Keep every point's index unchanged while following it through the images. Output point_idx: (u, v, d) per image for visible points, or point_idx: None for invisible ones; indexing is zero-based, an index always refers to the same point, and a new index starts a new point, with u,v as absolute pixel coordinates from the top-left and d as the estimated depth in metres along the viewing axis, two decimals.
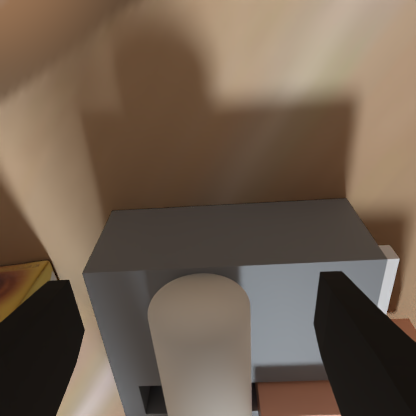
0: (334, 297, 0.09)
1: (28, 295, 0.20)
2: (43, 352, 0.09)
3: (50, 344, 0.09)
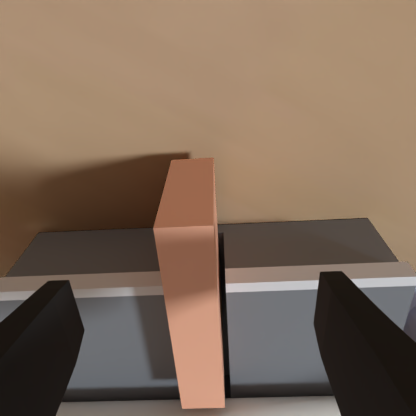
0: (334, 297, 0.09)
1: None
2: (43, 352, 0.09)
3: (50, 344, 0.09)
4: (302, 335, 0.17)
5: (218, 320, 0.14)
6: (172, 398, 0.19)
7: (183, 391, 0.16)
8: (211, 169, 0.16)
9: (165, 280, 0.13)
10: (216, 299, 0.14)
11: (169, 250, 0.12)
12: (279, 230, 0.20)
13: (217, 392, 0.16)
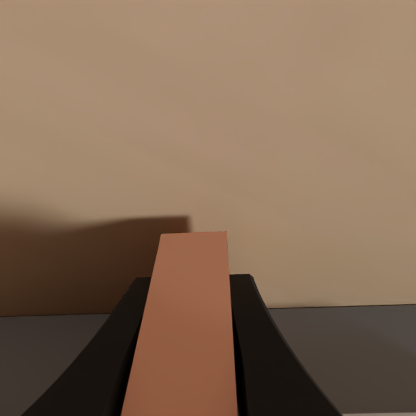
0: None
1: None
2: None
3: None
4: None
5: None
6: None
7: None
8: (224, 258, 0.10)
9: None
10: None
11: None
12: (319, 324, 0.13)
13: None
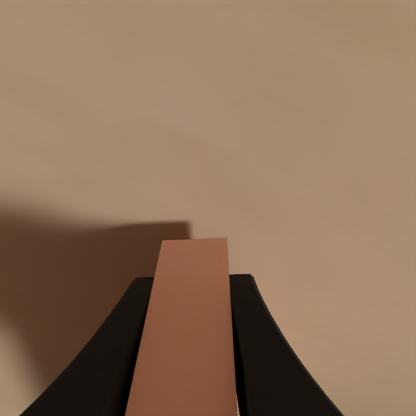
0: None
1: None
2: None
3: None
4: None
5: None
6: None
7: None
8: (225, 265, 0.10)
9: None
10: None
11: None
12: None
13: None
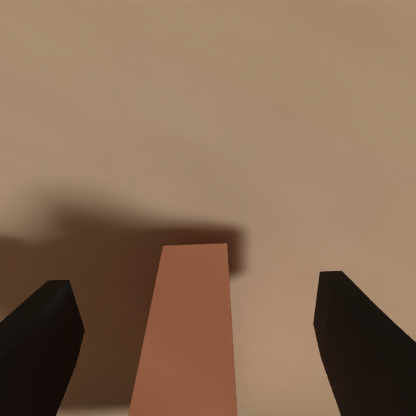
0: (334, 297, 0.09)
1: None
2: (43, 352, 0.09)
3: (50, 344, 0.09)
4: None
5: None
6: None
7: None
8: (225, 270, 0.10)
9: None
10: None
11: None
12: None
13: None
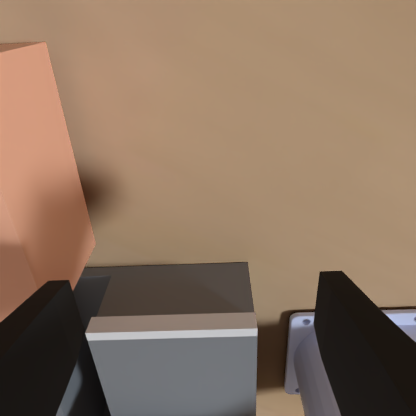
0: (334, 297, 0.09)
1: None
2: (43, 352, 0.09)
3: (50, 344, 0.09)
4: (166, 376, 0.18)
5: (6, 208, 0.12)
6: None
7: None
8: (28, 45, 0.14)
9: None
10: None
11: None
12: (162, 274, 0.21)
13: None
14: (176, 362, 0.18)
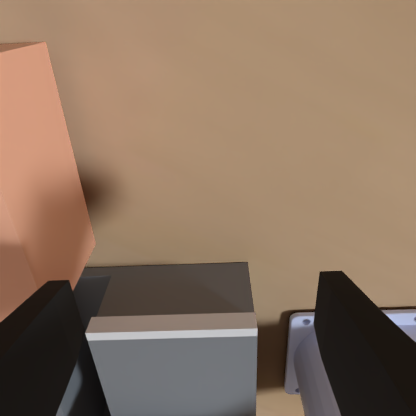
0: (334, 297, 0.09)
1: None
2: (43, 352, 0.09)
3: (50, 344, 0.09)
4: (166, 376, 0.18)
5: (6, 208, 0.12)
6: None
7: None
8: (28, 45, 0.14)
9: None
10: None
11: None
12: (162, 274, 0.21)
13: None
14: (176, 362, 0.18)
